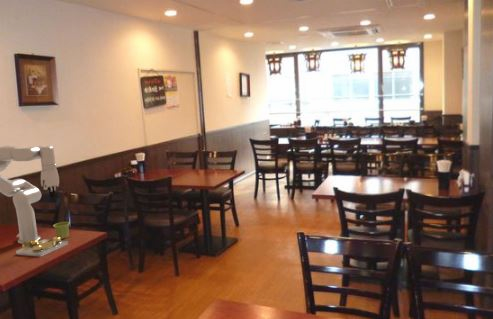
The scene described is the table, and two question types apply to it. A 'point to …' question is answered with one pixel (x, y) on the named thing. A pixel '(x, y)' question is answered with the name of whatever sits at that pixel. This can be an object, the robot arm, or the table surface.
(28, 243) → the knob near
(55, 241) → the knob
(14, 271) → the table surface
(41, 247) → the knob
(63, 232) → the plant pot
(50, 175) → the robot arm
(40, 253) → the base plate
